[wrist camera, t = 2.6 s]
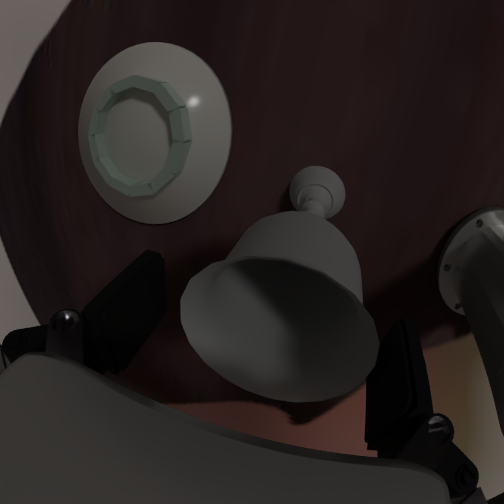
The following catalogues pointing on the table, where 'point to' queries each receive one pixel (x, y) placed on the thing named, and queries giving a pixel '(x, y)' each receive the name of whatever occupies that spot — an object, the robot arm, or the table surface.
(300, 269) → the chalice
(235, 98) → the table surface
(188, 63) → the plate
